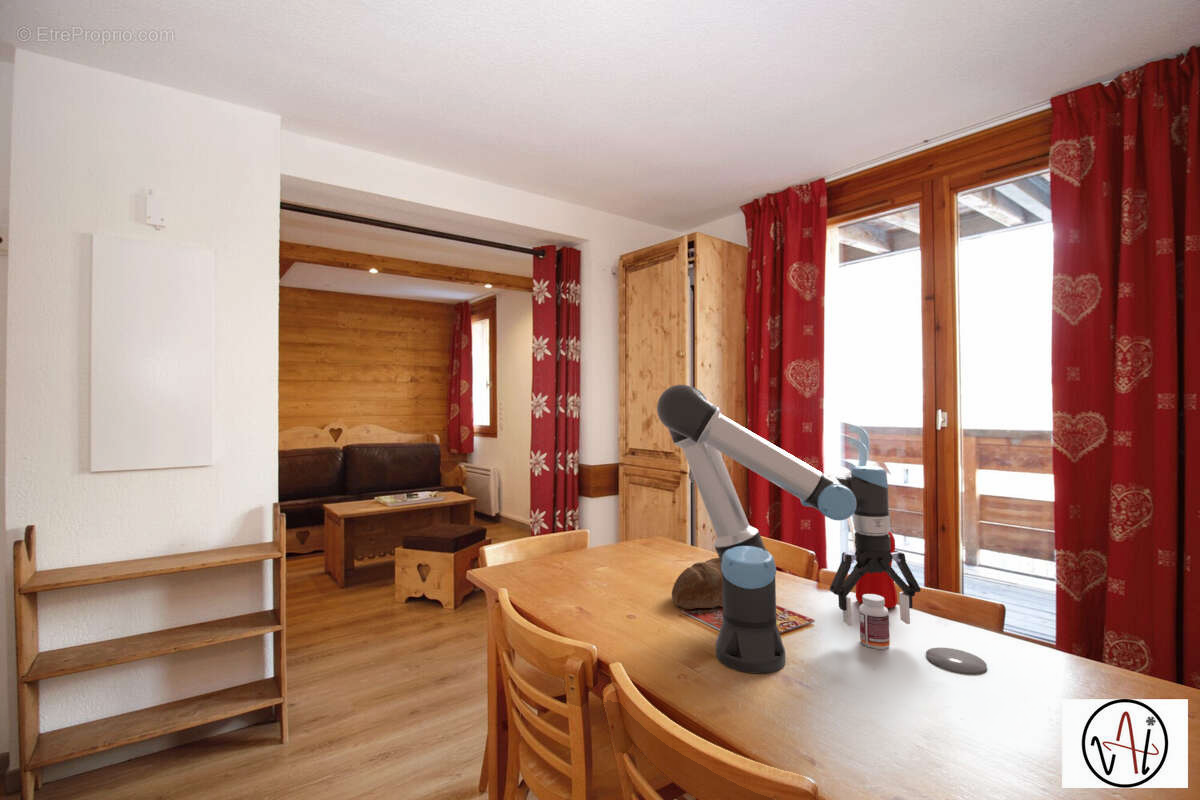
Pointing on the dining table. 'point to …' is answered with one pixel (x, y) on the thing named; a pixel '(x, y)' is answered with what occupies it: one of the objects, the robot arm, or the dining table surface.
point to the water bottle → (878, 584)
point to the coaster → (956, 660)
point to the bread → (699, 586)
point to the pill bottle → (874, 622)
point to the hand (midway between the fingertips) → (876, 622)
